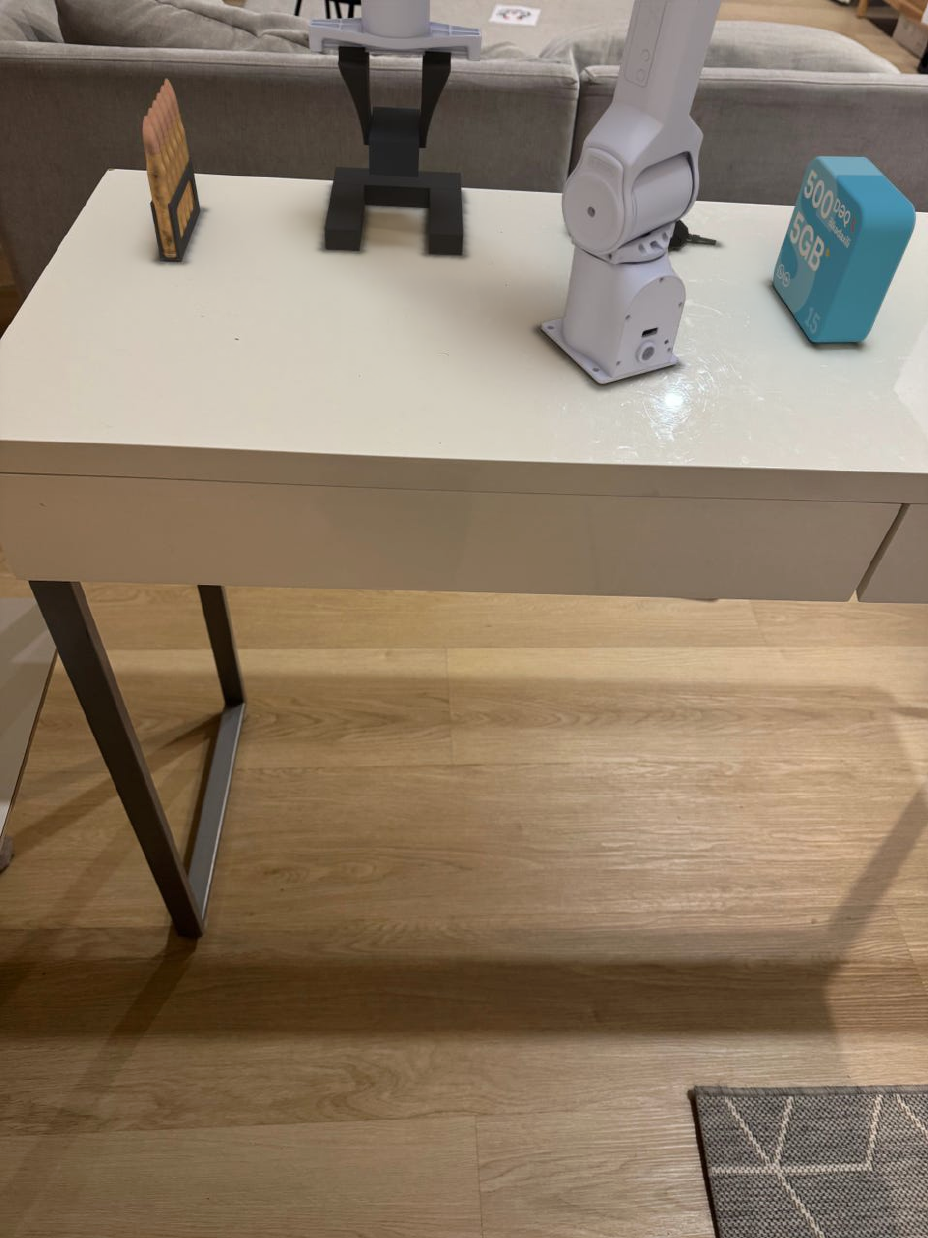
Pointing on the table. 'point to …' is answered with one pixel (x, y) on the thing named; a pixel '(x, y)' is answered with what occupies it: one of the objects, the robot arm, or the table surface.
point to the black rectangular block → (394, 142)
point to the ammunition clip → (170, 176)
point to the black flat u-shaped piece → (420, 191)
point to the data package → (842, 248)
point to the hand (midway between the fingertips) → (395, 142)
